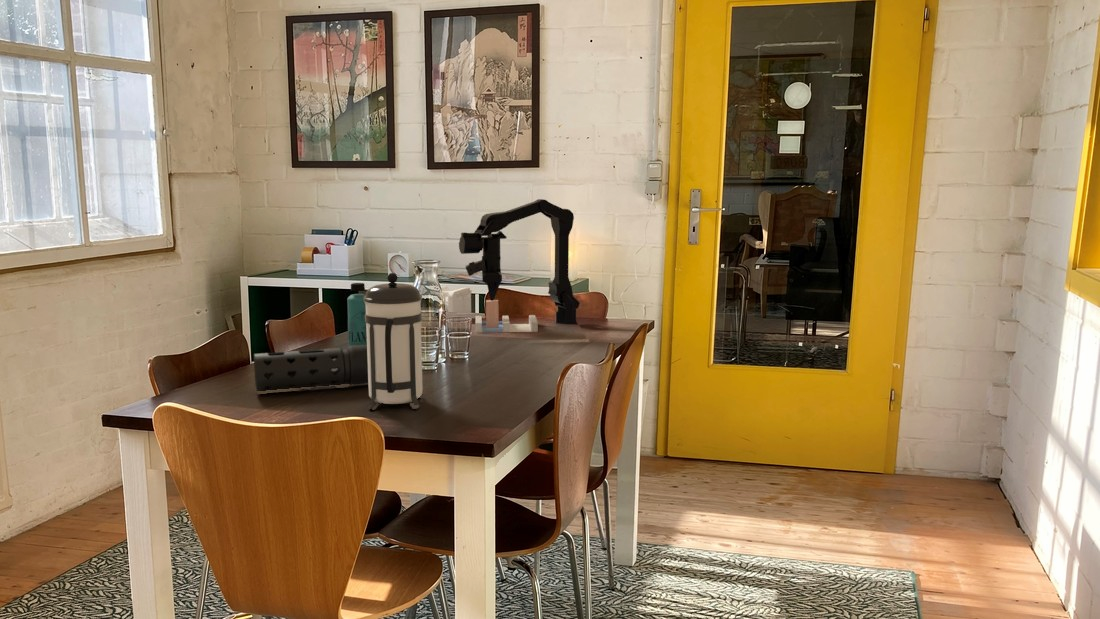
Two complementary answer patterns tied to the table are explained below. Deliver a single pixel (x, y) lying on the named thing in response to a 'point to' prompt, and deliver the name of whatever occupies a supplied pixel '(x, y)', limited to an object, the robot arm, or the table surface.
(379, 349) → the coffee press
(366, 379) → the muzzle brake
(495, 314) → the pinkish tan block
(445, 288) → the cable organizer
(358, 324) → the beverage bottle
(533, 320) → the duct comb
